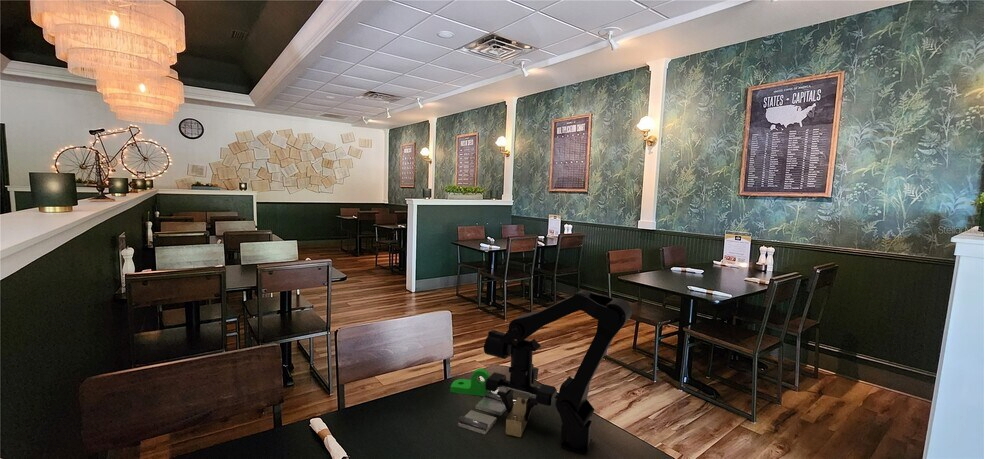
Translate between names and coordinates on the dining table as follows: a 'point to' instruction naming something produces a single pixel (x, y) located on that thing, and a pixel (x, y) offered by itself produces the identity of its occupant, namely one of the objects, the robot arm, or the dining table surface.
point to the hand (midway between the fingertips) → (519, 418)
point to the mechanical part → (471, 384)
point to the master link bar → (517, 418)
